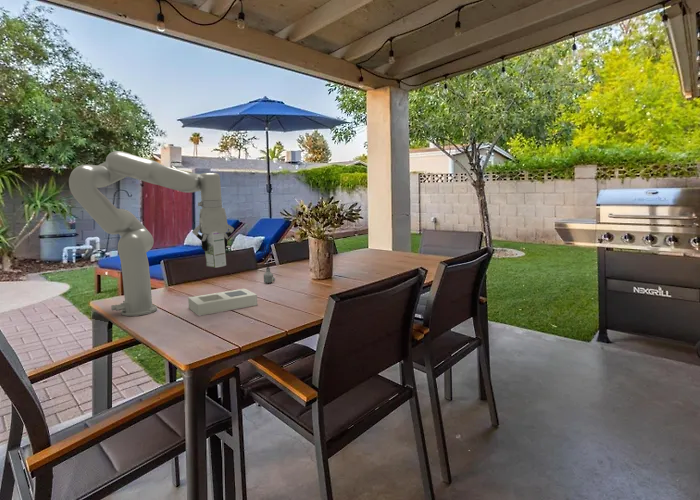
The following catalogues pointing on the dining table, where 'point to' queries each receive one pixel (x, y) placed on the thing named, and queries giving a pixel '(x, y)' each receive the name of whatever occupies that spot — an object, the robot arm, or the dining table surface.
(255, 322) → the dining table surface
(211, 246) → the syrup box
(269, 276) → the reed diffuser
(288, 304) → the dining table surface
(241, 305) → the caddy
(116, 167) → the robot arm
